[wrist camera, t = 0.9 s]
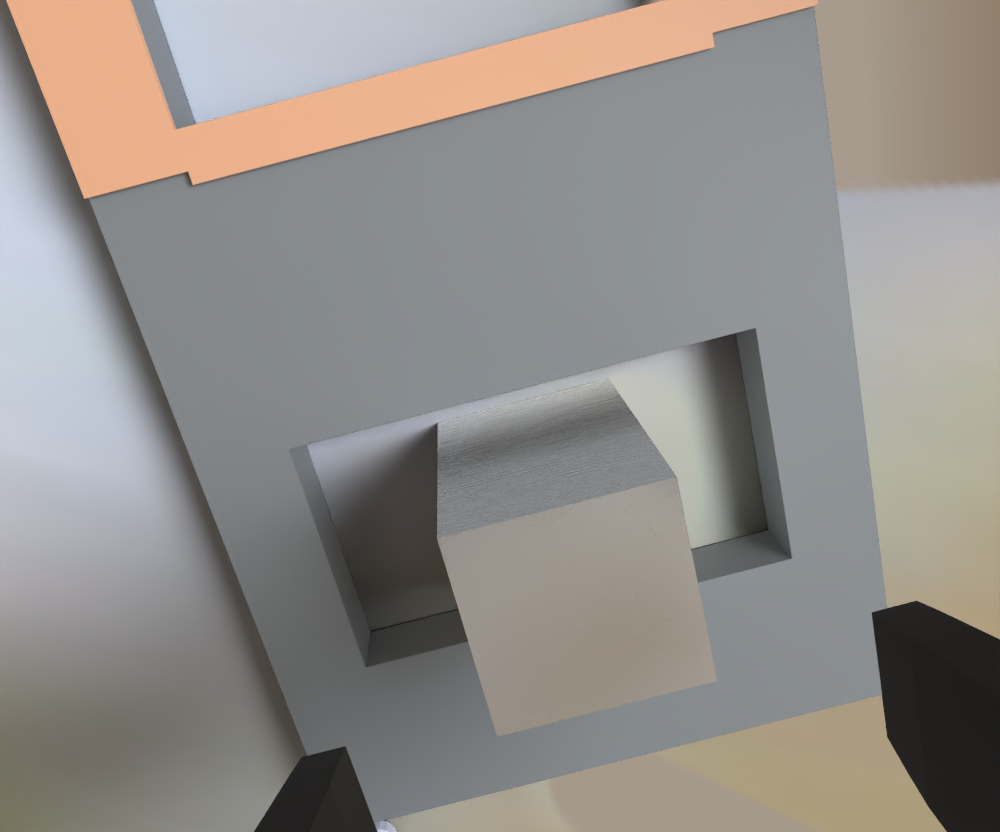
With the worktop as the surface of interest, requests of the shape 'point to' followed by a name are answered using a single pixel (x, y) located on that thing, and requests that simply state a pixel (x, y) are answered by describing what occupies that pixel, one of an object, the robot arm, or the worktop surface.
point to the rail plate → (491, 335)
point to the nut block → (568, 558)
